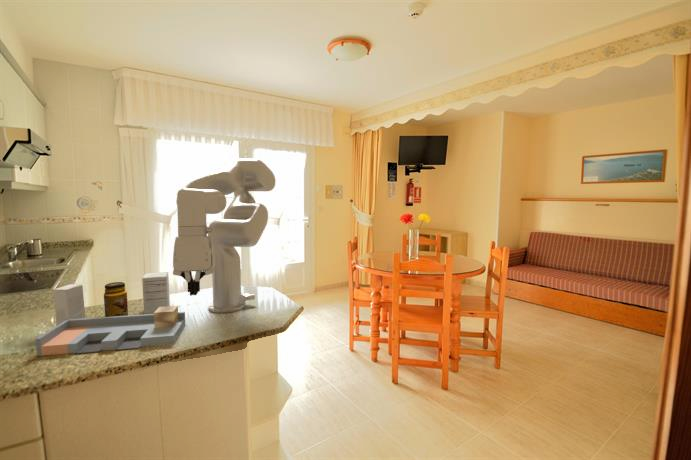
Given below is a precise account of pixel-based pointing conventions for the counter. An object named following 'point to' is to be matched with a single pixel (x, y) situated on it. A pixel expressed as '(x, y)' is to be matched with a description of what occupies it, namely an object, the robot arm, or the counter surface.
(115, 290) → the condiment
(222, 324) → the counter surface
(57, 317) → the skincare box
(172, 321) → the block
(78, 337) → the board
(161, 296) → the supplement box
